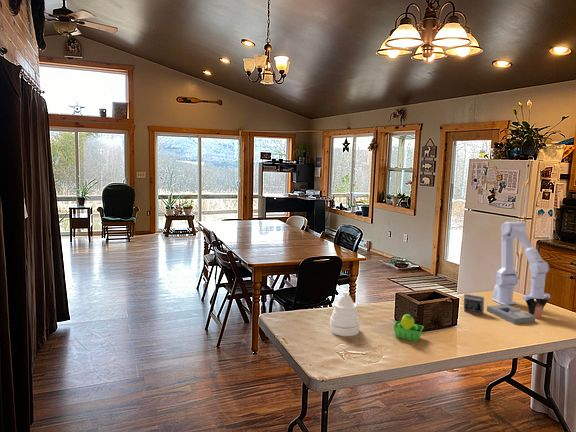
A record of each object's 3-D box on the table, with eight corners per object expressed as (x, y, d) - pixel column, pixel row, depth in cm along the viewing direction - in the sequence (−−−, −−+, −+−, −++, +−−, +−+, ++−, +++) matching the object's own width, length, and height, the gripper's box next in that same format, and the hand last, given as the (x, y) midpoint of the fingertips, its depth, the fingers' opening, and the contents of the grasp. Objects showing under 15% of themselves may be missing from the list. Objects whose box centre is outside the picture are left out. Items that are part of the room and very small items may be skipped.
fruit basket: (423, 337, 187) (425, 311, 186) (418, 344, 179) (419, 318, 178) (397, 331, 193) (398, 306, 191) (391, 338, 185) (392, 312, 184)
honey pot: (358, 337, 186) (360, 296, 183) (328, 334, 188) (329, 294, 186) (359, 326, 198) (361, 287, 196) (331, 323, 201) (332, 285, 198)
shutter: (508, 313, 210) (509, 309, 210) (519, 312, 212) (520, 307, 212) (519, 318, 204) (519, 313, 204) (530, 317, 206) (530, 312, 205)
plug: (528, 315, 215) (529, 301, 214) (534, 314, 216) (536, 300, 216) (534, 318, 211) (536, 304, 211) (541, 317, 213) (542, 303, 212)
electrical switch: (483, 312, 218) (484, 295, 216) (481, 316, 214) (483, 298, 212) (464, 308, 223) (464, 291, 221) (461, 312, 219) (462, 295, 217)
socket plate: (486, 310, 221) (487, 306, 220) (506, 309, 224) (506, 304, 223) (513, 324, 203) (514, 318, 203) (534, 321, 207) (535, 316, 206)
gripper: (532, 289, 206) (529, 317, 208) (556, 287, 210) (553, 314, 212) (520, 285, 213) (518, 312, 215) (544, 283, 217) (541, 309, 219)
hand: (535, 313), depth 214 cm, fingers closed on plug, 4 cm apart
